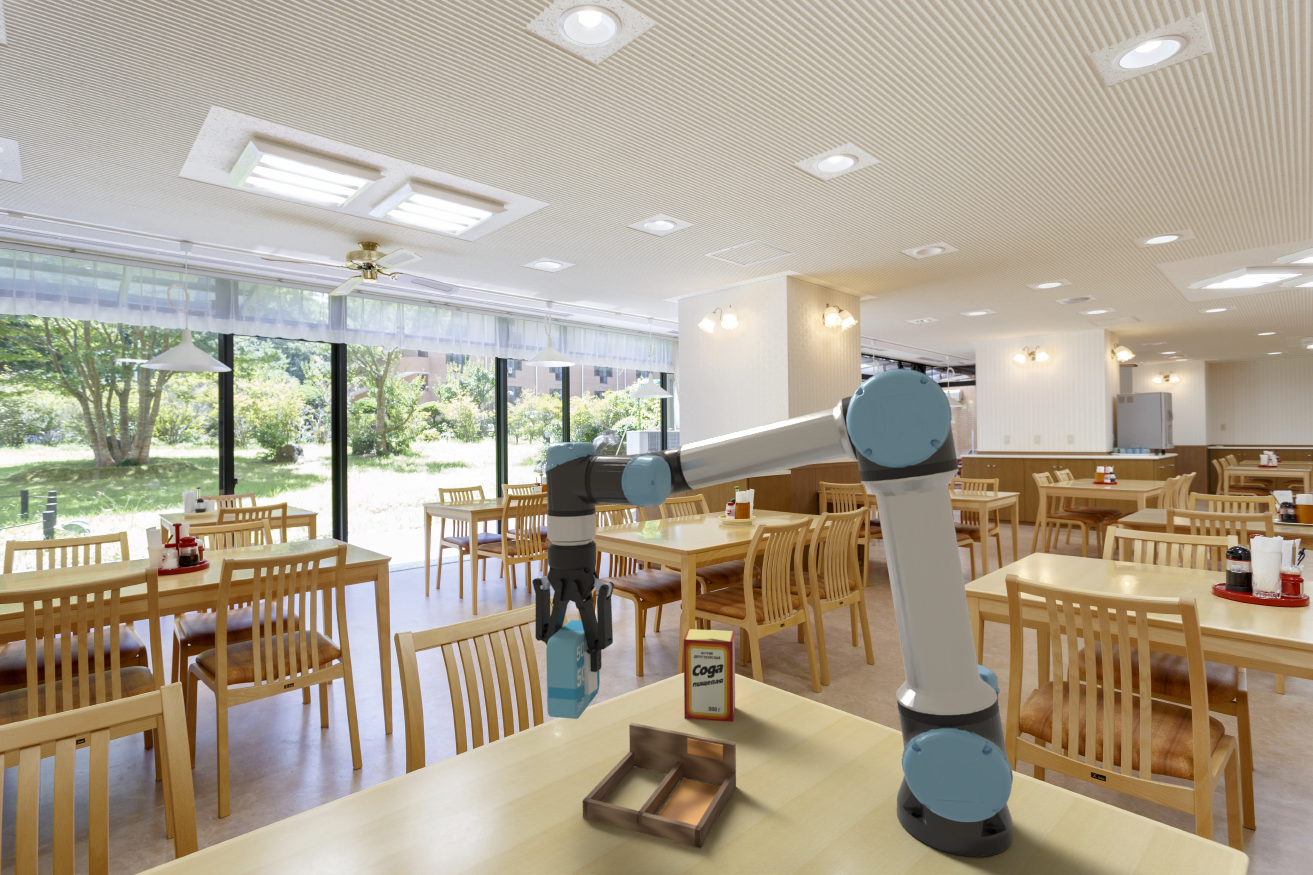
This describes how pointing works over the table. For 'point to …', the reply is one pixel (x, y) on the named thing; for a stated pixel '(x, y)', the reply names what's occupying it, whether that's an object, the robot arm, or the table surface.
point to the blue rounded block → (567, 672)
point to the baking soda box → (709, 675)
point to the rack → (670, 785)
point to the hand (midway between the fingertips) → (574, 687)
